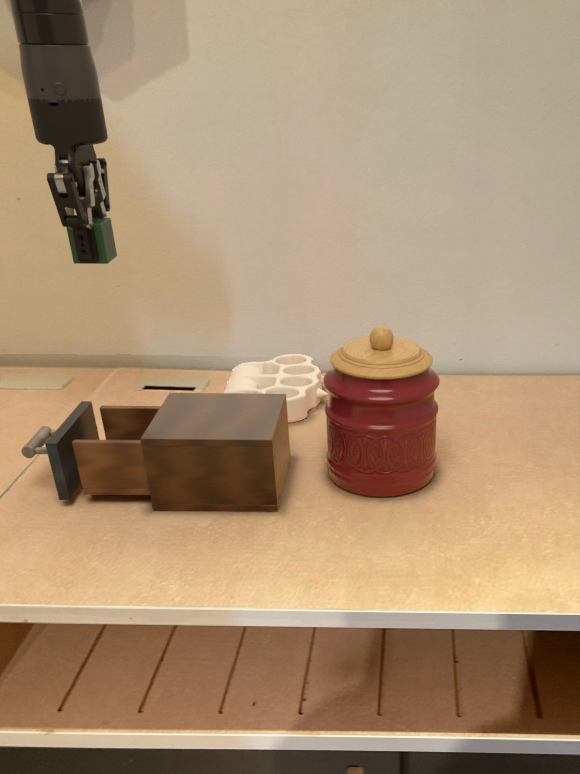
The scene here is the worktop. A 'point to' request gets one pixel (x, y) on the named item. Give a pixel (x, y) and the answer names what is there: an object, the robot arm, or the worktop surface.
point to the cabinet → (217, 452)
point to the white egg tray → (281, 382)
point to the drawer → (96, 451)
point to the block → (98, 241)
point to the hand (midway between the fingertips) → (95, 257)
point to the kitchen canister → (381, 415)
